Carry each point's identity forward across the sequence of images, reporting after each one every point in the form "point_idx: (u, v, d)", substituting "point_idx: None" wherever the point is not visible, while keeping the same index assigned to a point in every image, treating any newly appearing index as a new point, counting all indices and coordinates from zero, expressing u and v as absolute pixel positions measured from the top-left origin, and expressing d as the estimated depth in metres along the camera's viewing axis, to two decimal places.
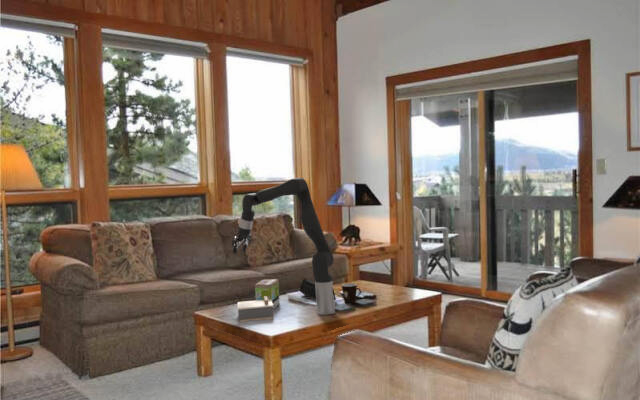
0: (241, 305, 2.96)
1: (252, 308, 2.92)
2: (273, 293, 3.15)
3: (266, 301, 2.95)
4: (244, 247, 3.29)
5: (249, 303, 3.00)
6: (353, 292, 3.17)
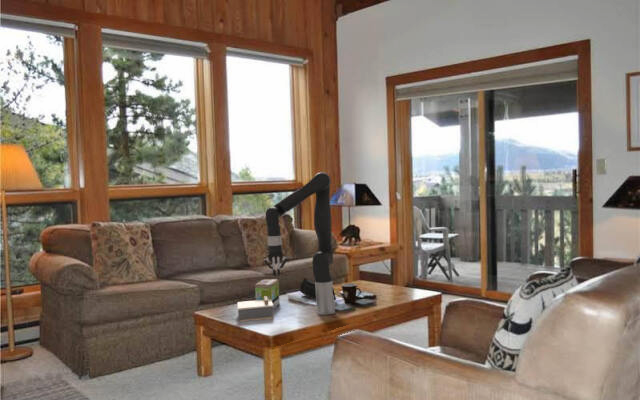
0: (241, 305, 2.96)
1: (252, 308, 2.92)
2: (273, 293, 3.15)
3: (266, 301, 2.95)
4: (277, 271, 3.00)
5: (249, 303, 3.00)
6: (353, 292, 3.17)
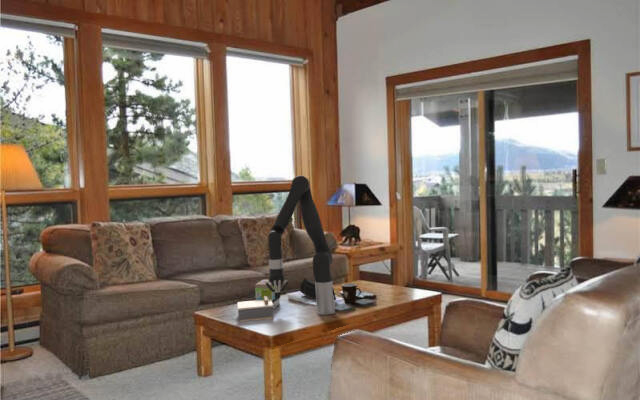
0: (241, 305, 2.96)
1: (252, 308, 2.92)
2: (273, 293, 3.15)
3: (266, 301, 2.95)
4: None
5: (249, 303, 3.00)
6: (353, 292, 3.17)
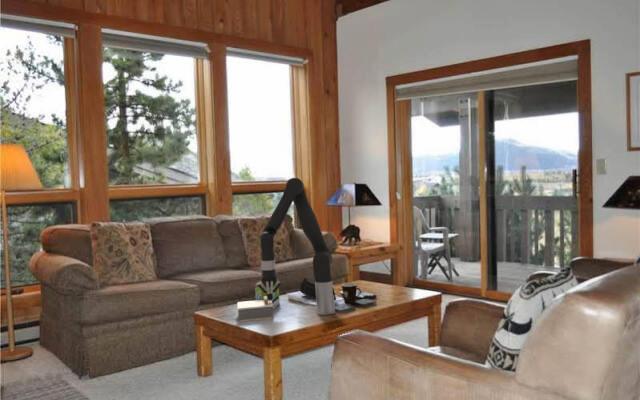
0: (241, 305, 2.96)
1: (252, 308, 2.92)
2: (273, 293, 3.15)
3: (266, 301, 2.95)
4: None
5: (249, 303, 3.00)
6: (353, 292, 3.17)
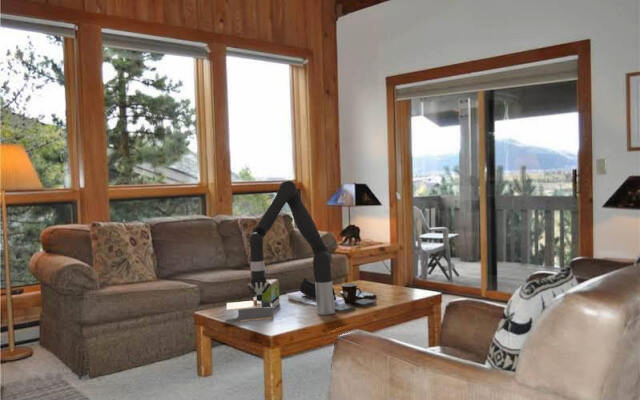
0: (230, 306, 2.95)
1: (241, 309, 2.91)
2: (273, 293, 3.15)
3: (255, 302, 2.94)
4: None
5: (238, 304, 2.99)
6: (353, 292, 3.17)
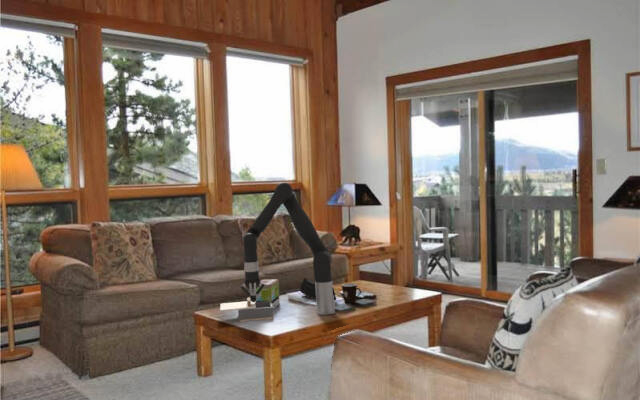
0: (224, 307, 2.95)
1: None
2: (273, 293, 3.15)
3: (249, 303, 2.93)
4: None
5: (232, 305, 2.99)
6: (353, 292, 3.17)
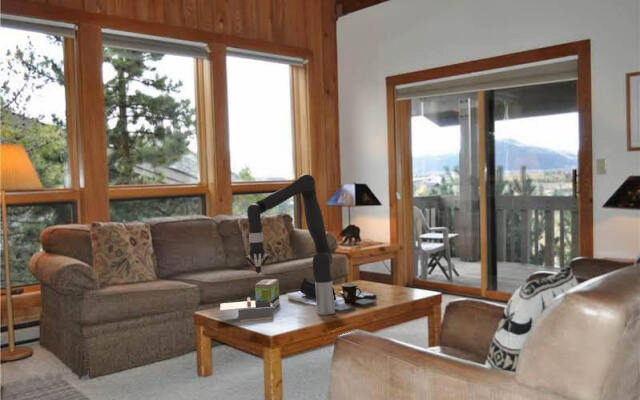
0: (224, 307, 2.95)
1: None
2: (273, 293, 3.15)
3: (249, 303, 2.93)
4: None
5: (232, 305, 2.99)
6: (353, 292, 3.17)
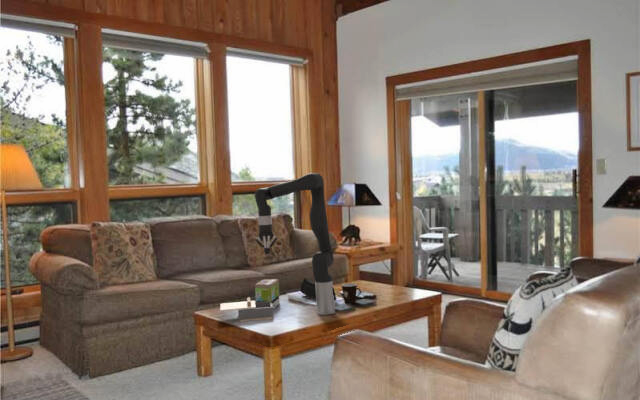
0: (224, 307, 2.95)
1: None
2: (273, 293, 3.15)
3: (249, 303, 2.93)
4: None
5: (232, 305, 2.99)
6: (353, 292, 3.17)
